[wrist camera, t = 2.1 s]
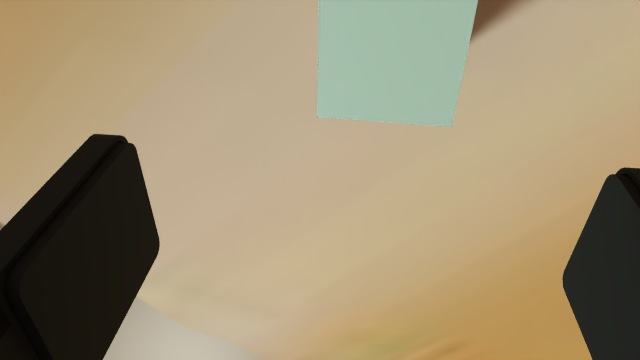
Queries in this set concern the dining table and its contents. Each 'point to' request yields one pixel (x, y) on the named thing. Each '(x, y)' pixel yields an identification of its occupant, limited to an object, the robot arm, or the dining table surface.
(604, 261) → the robot arm
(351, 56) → the sage block
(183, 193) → the dining table surface
